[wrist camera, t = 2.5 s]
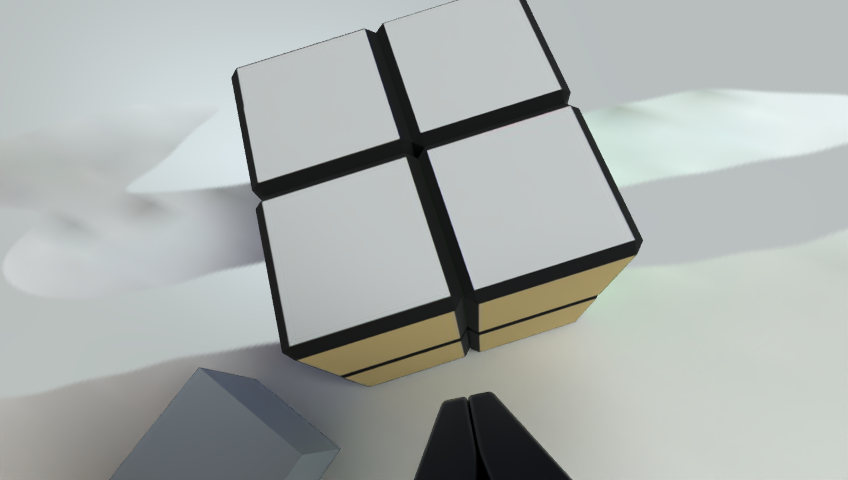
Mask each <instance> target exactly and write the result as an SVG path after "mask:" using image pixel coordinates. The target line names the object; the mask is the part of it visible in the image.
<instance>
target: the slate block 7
mask: <svg viewBox="0 0 848 480" xmlns="http://www.w3.org/2000/svg"><path fill="white" fill-rule="evenodd" d="M339 450H340V448H339V447H338V446H337V445H335V444H334V443H333V442H332V441H330V440H329V439H328V438H327V437H326V436H324V435H323V434H322V433H321V432H319V431H318V430H317V429H316V428H315V427H313V426H312V425H311V424H310V423H309V422H307V421H306V420H305V419H304V418H302V417H301V416H300V415H299V414H298V413H296V412H295V411H294V410H293V409H291V408H290V407H289V406H288V405H287V404H285V403H284V402H283V401H282V400H280V399H279V398H278V397H277V396H276V395H274V394H273V393H272V392H271V391H270V390H268V389H267V388H266V387H265V386H263V385H262V384H261V383H260V382H259V381H257V380H256V379H252V378H248V377H243V376H238V375H233V374H228V373H224V372H219V371H214V370H209V369H204V368H198V369H197V371H196V372H195V373H194V374H193V376H192V377H191V378H190V379H189V381H188V382H187V383H186V384H185V386H184V387H183V388H182V389H181V391H180V392H179V393H178V394H177V396H176V397H175V398H174V399H173V401H172V402H171V403H170V404H169V406H168V407H167V408H166V409H165V411H164V412H163V413H162V414H161V416H160V417H159V418H158V419H157V421H156V422H155V423H154V424H153V426H152V427H151V428H150V429H149V431H148V432H147V433H146V434H145V436H144V437H143V438H142V439H141V441H140V442H139V443H138V444H137V446H136V447H135V448H134V449H133V451H132V452H131V453H130V454H129V456H128V457H127V458H126V459H125V461H124V462H123V463H122V464H121V466H120V467H119V468H118V469H117V471H116V472H115V473H114V474H113V476H112V477H111V478H110V479H109V480H319V479H320V478H321V476H322V475H323V473H324V472H325V470H326V469H327V468H328V466H329V465H330V463H331V462H332V460H333V459H334V458H335V456H336V455H337V453H338V452H339Z"/></svg>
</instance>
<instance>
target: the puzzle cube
mask: <svg viewBox="0 0 848 480" xmlns="http://www.w3.org/2000/svg"><path fill="white" fill-rule="evenodd" d="M232 84H233V89H234V94H235V100H236V104H237V111H238V116H239V122H240V127H241V132H242V138H243V142H244V149H245V154H246V159H247V164H248V170H249V176H250V181H251V186H252V191H253V192H254V193H255V194H256V195H257V196H258V197H259V198H260V199H261V200H262V201H261V202H260V204H259V205H258V206H257V208H256V213H257V219H258V224H259V230H260V235H261V240H262V246H263V251H264V257H265V262H266V267H267V273H268V278H269V283H270V289H271V294H272V300H273V305H274V311H275V316H276V321H277V327H278V332H279V338H280V343H281V348H282V353H284V354H286V355H287V356H289V357H291V358H292V359H294V360H296V361H298V362H301V363H304V364H307V365H310V366H312V367H315V368H318V369H321V370H324V371H327V372H329V373H332V374H335V375H338V376H341V377H343V378H345V379H348V380H351V381H354V382H357V383H360V384H363V385H366V386H369V387H371V386H374V385H377V384H380V383H383V382H387V381H390V380H393V379H396V378H399V377H402V376H406V375H409V374H412V373H415V372H418V371H421V370H424V369H428V368H431V367H434V366H437V365H440V364H443V363H447V362H450V361H453V360H456V359H459V358H462V357H465V356H466V354H467V352H468V350H469V348H470V347H471V348H473V349H475V350H477V351H479V352H481V351H485V350H488V349H491V348H494V347H497V346H500V345H504V344H507V343H510V342H513V341H516V340H519V339H522V338H526V337H529V336H532V335H535V334H538V333H541V332H544V331H548V330H551V329H554V328H557V327H560V326H563V325H567V324H570V323H573V322H575V321H576V320H577V319H578V318H579V317H580V316H581V315H582V314H583V313H584V311H585V310H586V309H587V308H588V307H589V306H590V305H591V304H592V303H593V301H594V300H595V299H596V298H597V296H598V295H599V294H600V293H601V292H602V291H603V290H604V289H605V288H606V287H607V286H608V285H609V284H610V283H611V282H612V281H613V279H614V278H615V277H616V276H617V275H618V274H619V273H620V272H621V271H622V270H623V269H624V268H625V267H626V266H627V265H628V263H629V262H630V261H631V260H632V259H633V258H634V257H635V256H636V255H637V253H638V251H639V248H640V246H641V244H642V242H643V239H642V237H641V235H640V233H639V231H638V229H637V227H636V225H635V223H634V221H633V219H632V217H631V214H630V212H629V210H628V208H627V206H626V204H625V202H624V200H623V198H622V196H621V194H620V192H619V190H618V188H617V186H616V184H615V182H614V180H613V177H612V175H611V173H610V171H609V169H608V167H607V165H606V163H605V161H604V159H603V157H602V155H601V153H600V151H599V149H598V147H597V145H596V143H595V140H594V138H593V136H592V134H591V132H590V130H589V128H588V126H587V124H586V122H585V120H584V118H583V116H582V114H581V112H580V110H579V108H576V107H573V106H571V105H568V100H569V96H570V93H571V92H570V90H569V88H568V86H567V84H566V82H565V80H564V77H563V75H562V73H561V71H560V69H559V67H558V65H557V63H556V61H555V59H554V57H553V55H552V53H551V51H550V49H549V47H548V45H547V43H546V41H545V38H544V36H543V34H542V32H541V30H540V28H539V26H538V24H537V22H536V20H535V18H534V16H533V14H532V12H531V10H530V8H529V5H528V4H527V1H526V0H456V1H452V2H449V3H446V4H443V5H440V6H436V7H433V8H430V9H427V10H424V11H420V12H417V13H414V14H411V15H407V16H404V17H401V18H398V19H395V20H392V21H388V22H385V23H383V24H382V25H381V27H380V28H379V29H378V31H377V32H376V33H375V32H372V31H370V30H367V29H362V30H358V31H355V32H352V33H348V34H345V35H342V36H339V37H336V38H332V39H330V40H326V41H323V42H320V43H316V44H313V45H310V46H307V47H304V48H300V49H297V50H294V51H290V52H287V53H284V54H281V55H278V56H275V57H271V58H268V59H265V60H262V61H258V62H255V63H252V64H249V65H246V66H242V67H239V68H237V69H236V70H235V72H234V74H233V76H232ZM469 344H470V345H469Z"/></svg>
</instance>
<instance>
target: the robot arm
mask: <svg viewBox="0 0 848 480" xmlns="http://www.w3.org/2000/svg"><path fill="white" fill-rule="evenodd" d="M468 402H469V403H468ZM414 480H572V479H571V478H570V477H569V476H568V474H567V473H566V472H565V471H564V470H563V469H562V468H561V467H560V466H559V465H558V463H557V462H556V461H555V460H554V459H553V458H552V457H551V456H550V455H549V454H548V452H547V451H546V450H545V449H544V448H543V447H542V446H541V445H540V444H539V443H538V441H537V440H536V439H535V438H534V437H533V436H532V435H531V434H530V433H529V432H528V431H527V429H526V428H525V427H524V426H523V425H522V424H521V423H520V422H519V421H518V420H517V418H516V417H515V416H514V415H513V414H512V413H511V412H510V411H509V410H508V409H507V407H506V406H505V405H504V404H503V403H502V402H501V401H500V400H499V399H498V398H497V396H496V395H495V394H493V393H492V392H485V393H480V394H475V395H471V396H470V397H469V398H468V400H467V398H465V397H460V398H455V399H450V400H446V401H444V402H443V403H442V405H441V407H440V410H439V413H438V415H437V418H436V421H435V423H434V426H433V429H432V432H431V434H430V437H429V440H428V442H427V445H426V448H425V450H424V453H423V456H422V459H421V461H420V464H419V467H418V469H417V472H416V475H415V478H414Z"/></svg>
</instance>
